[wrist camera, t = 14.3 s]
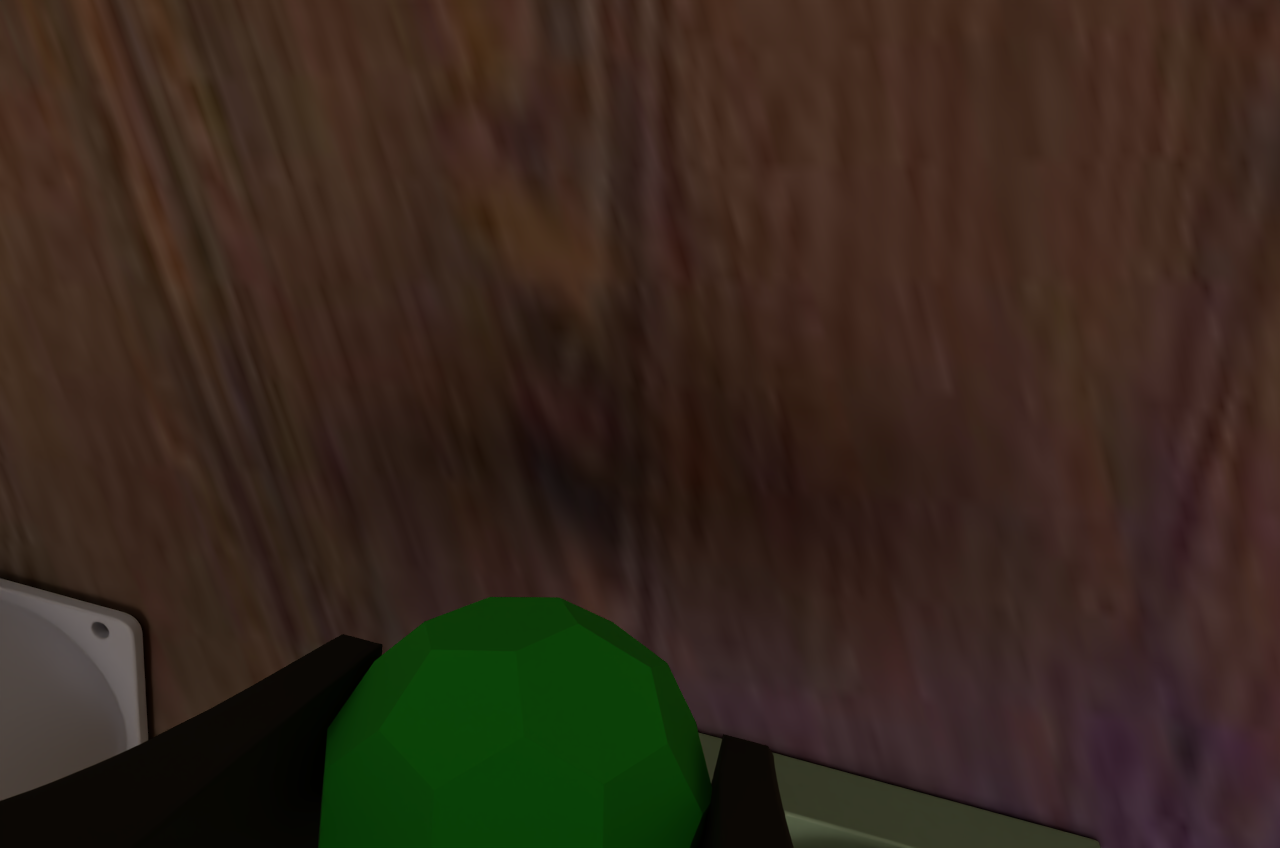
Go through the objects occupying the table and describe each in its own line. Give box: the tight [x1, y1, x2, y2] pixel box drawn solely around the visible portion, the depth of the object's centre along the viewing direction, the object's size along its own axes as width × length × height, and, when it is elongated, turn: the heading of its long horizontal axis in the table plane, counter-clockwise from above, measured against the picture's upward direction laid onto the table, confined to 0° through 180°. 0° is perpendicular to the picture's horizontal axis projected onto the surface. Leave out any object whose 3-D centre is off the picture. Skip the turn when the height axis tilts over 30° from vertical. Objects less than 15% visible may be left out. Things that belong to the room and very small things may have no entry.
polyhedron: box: [318, 597, 712, 848], centre depth 11 cm, size 5×5×5 cm
